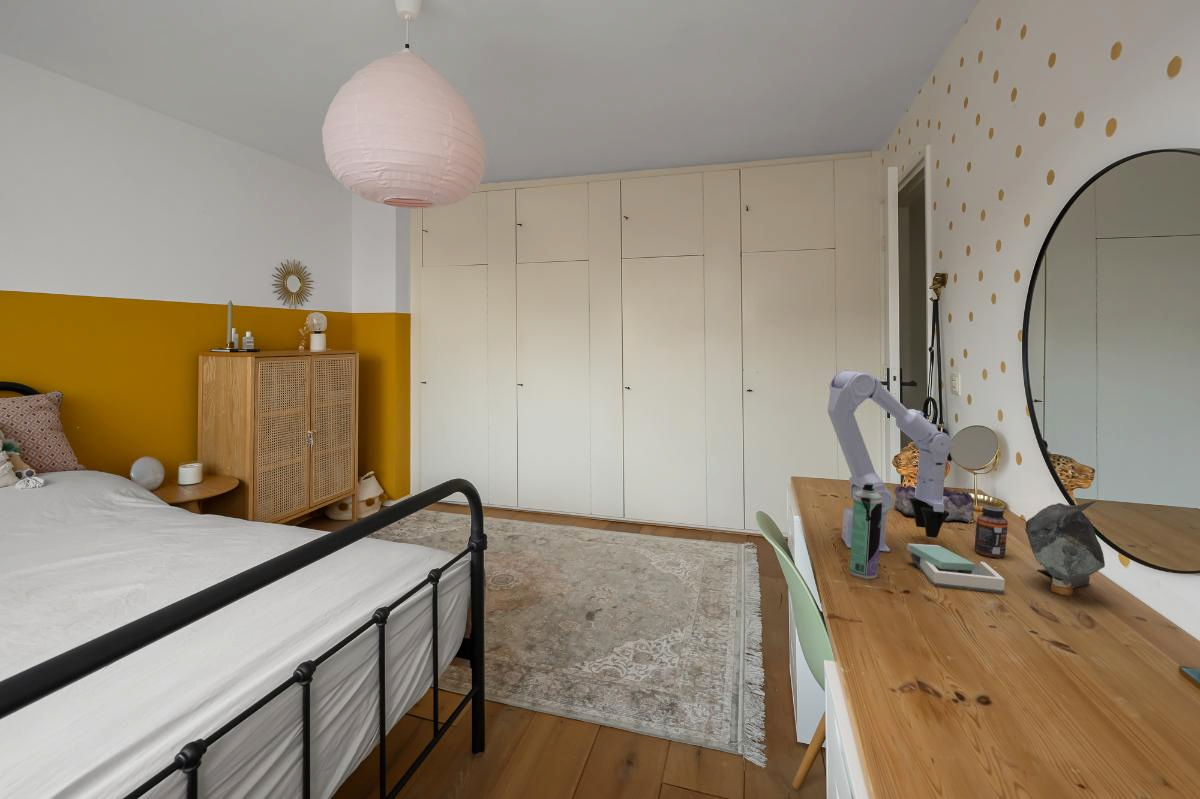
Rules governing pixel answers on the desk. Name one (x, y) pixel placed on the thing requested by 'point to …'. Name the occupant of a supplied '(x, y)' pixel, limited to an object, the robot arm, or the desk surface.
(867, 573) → the spray can
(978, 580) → the tray
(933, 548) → the mint green block
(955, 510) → the geode
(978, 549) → the supplement bottle
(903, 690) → the desk surface
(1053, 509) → the faceted stone sculpture
